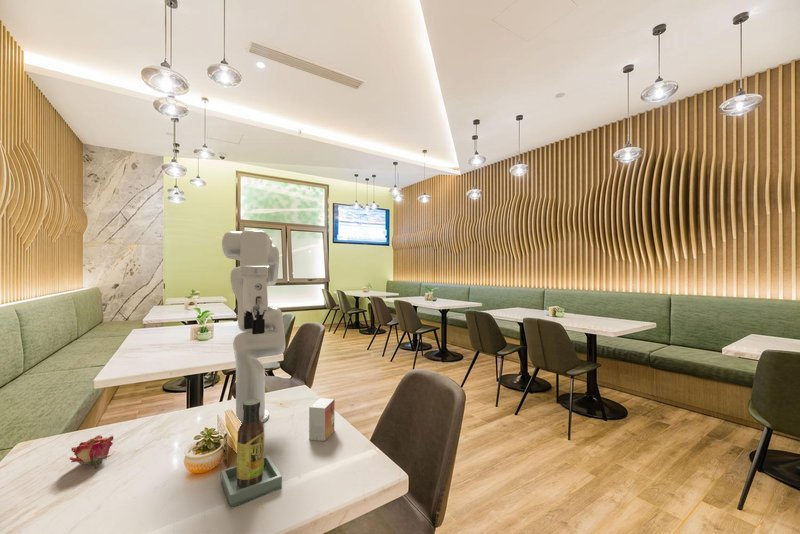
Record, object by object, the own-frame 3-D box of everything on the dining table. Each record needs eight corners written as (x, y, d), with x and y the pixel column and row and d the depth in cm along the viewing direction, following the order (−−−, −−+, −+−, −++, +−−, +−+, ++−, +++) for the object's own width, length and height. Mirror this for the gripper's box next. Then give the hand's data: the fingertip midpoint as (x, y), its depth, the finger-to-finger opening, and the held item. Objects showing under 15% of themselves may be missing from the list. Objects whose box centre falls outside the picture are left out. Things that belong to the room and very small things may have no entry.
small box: (325, 442, 105) (325, 408, 105) (308, 440, 106) (308, 407, 106) (334, 429, 113) (335, 398, 113) (319, 428, 114) (319, 397, 114)
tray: (221, 482, 85) (221, 470, 85) (268, 466, 92) (268, 455, 92) (230, 508, 76) (230, 495, 76) (281, 488, 83) (281, 476, 83)
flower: (123, 456, 94) (120, 428, 97) (82, 467, 86) (80, 436, 89) (103, 470, 96) (100, 443, 99) (61, 482, 88) (60, 451, 91)
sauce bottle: (253, 490, 81) (253, 408, 81) (230, 487, 82) (231, 406, 82) (268, 474, 87) (269, 398, 87) (247, 471, 88) (247, 396, 89)
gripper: (276, 273, 93) (276, 334, 93) (259, 272, 107) (259, 325, 107) (247, 273, 89) (247, 337, 89) (233, 272, 102) (233, 328, 102)
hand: (253, 331), depth 98 cm, fingers open, 9 cm apart
